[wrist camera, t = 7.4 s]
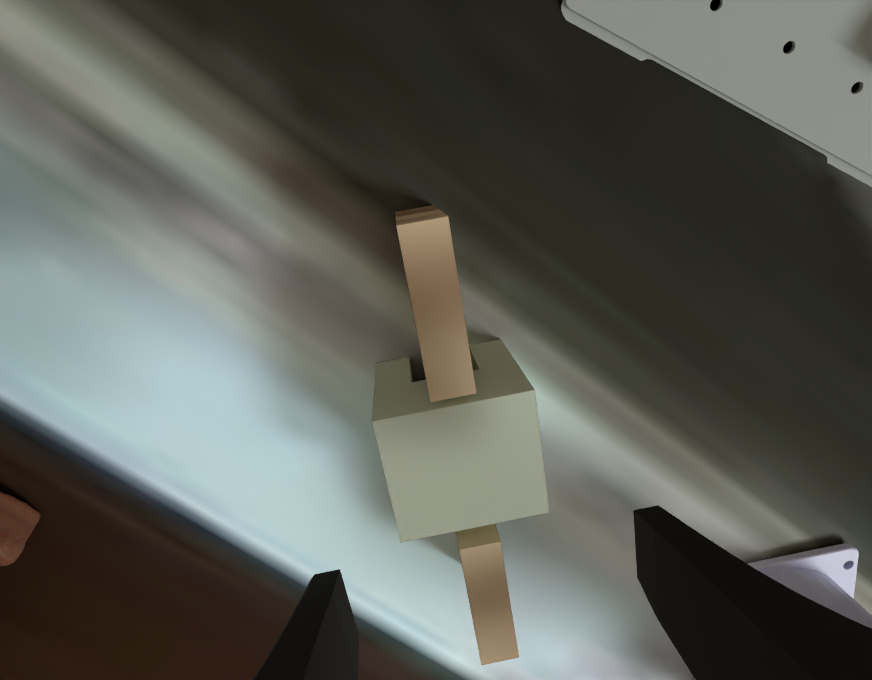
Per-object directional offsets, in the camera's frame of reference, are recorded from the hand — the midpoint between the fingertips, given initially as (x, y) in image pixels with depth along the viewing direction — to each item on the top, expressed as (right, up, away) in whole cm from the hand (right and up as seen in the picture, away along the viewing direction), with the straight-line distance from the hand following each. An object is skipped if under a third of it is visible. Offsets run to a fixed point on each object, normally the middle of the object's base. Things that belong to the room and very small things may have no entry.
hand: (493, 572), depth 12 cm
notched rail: (-1, +3, +9) cm, 9 cm away
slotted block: (-1, +3, +9) cm, 9 cm away
